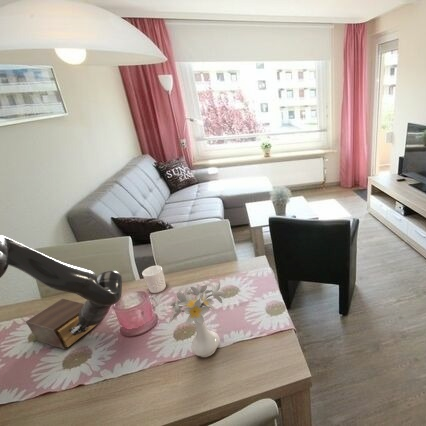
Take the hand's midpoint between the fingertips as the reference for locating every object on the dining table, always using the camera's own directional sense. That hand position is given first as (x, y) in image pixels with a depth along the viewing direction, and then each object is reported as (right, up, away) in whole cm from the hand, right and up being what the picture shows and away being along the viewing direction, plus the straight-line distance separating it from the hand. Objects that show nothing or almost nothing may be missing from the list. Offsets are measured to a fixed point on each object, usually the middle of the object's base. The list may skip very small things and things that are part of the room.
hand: (83, 329), depth 108 cm
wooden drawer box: (-10, -3, +5) cm, 11 cm away
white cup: (+13, +8, +27) cm, 31 cm away
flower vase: (+48, -5, -4) cm, 48 cm away
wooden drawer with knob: (-7, -2, +4) cm, 9 cm away
